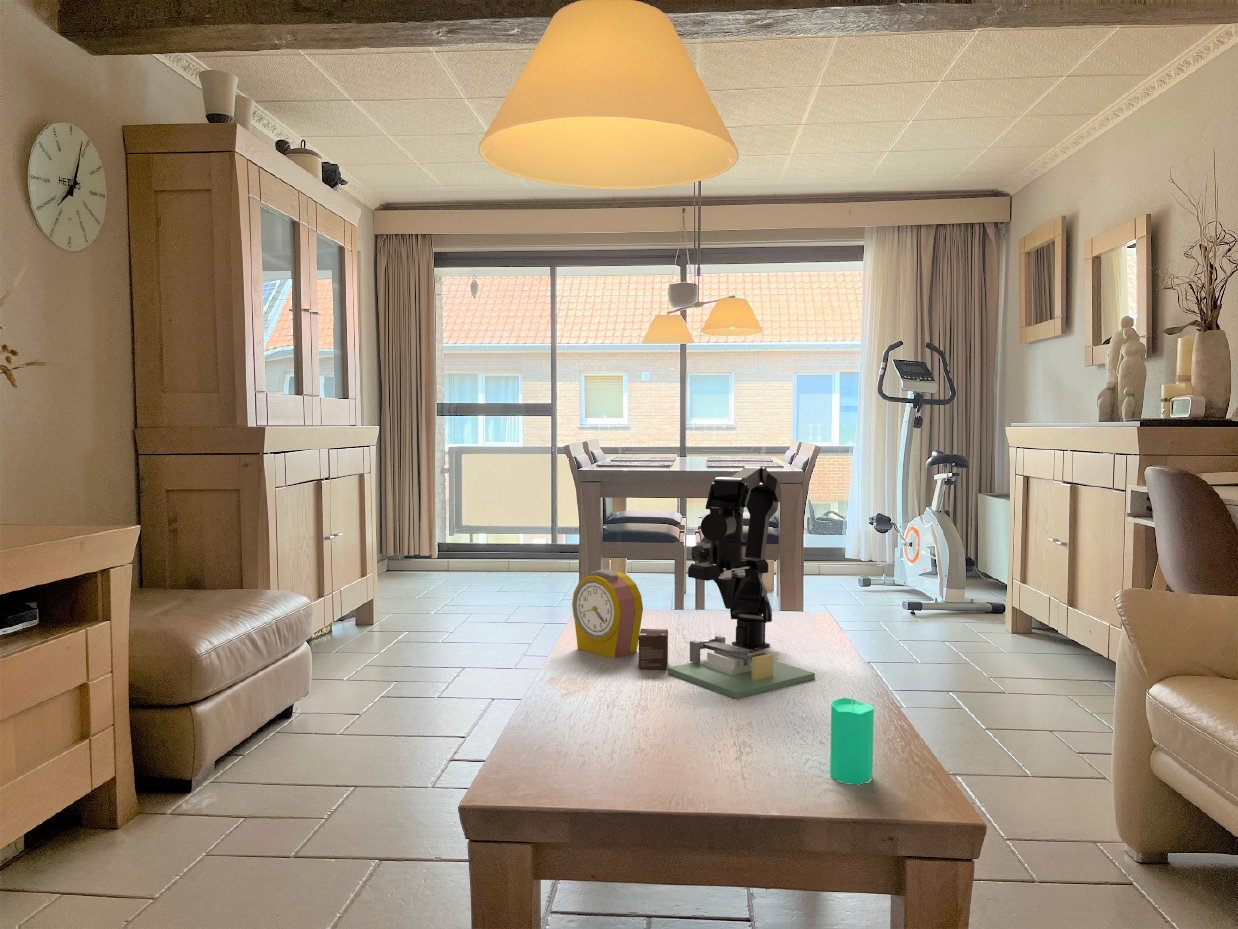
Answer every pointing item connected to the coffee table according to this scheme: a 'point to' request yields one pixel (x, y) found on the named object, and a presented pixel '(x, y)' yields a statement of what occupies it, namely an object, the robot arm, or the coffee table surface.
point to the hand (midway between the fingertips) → (728, 608)
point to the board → (738, 672)
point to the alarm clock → (607, 613)
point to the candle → (851, 741)
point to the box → (653, 649)
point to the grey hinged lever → (730, 649)
